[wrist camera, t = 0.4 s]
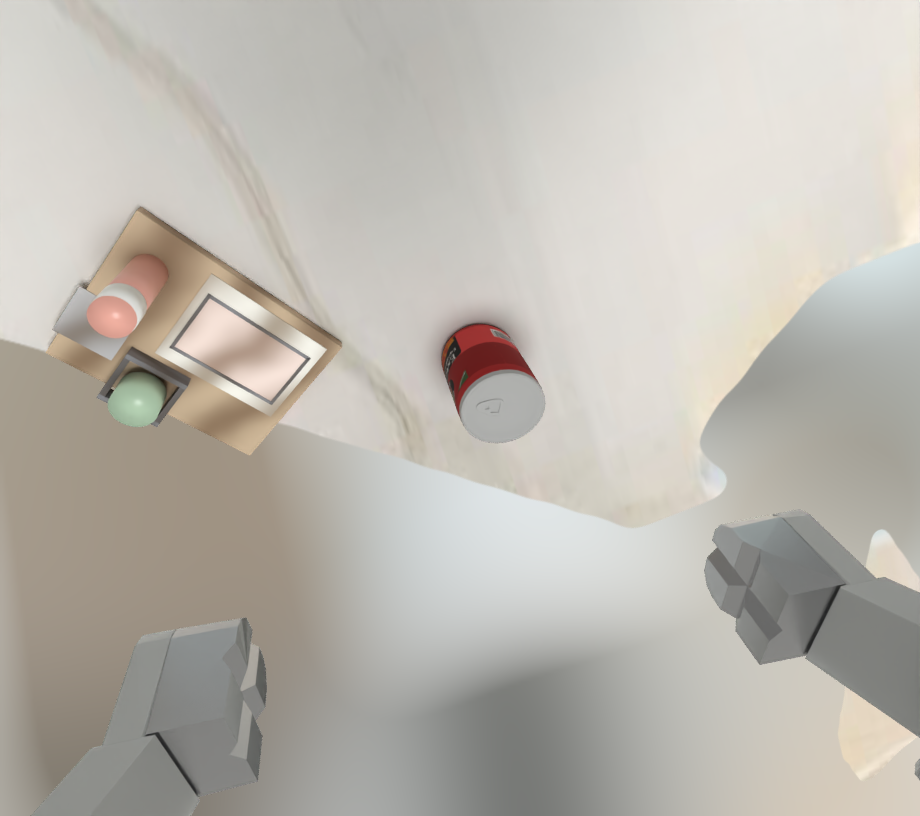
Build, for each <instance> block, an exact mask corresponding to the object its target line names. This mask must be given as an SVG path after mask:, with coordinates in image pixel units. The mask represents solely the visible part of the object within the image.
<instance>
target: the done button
mask: <svg viewBox="0 0 920 816" xmlns="http://www.w3.org/2000/svg"><path fill="white" fill-rule="evenodd" d="M166 396H167V390H166V387H165V385H164V384H163V382H162V381H161V380H160V379H158V378H157V377H156V376H154V375H152V374H149V373H146V372H132V373H129V374H127V375H125V376H124V377H123V378H122V379H121V380H120V382H119V383H118V385H117V387H116V388H115V390H114V391H113V393H112V395H111V396H110V398H109V400H108V409H109V412H110V414H111V415H112V416H113V417H114V418H115V419H116V420H118V421H119V422H120V423H122V424H125V425H128V426H132V427H142V426H146V425H149V424H151V423H152V422H154V421H155V420H156V418H157V416H158V414H159V412H160V410H161V408H162V406H163V404H164V401H165V399H166Z"/></svg>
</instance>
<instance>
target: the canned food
mask: <svg viewBox="0 0 920 816" xmlns="http://www.w3.org/2000/svg"><path fill="white" fill-rule="evenodd" d="M442 367H443V371H444V374H445V377H446V380H447V383H448V385H449V388H450V391H451V394H452V397H453V400H454V403H455V406H456V409H457V412H458V414H459V416H460V419H461V421H462V423H463V425H464V427H465V429H466V430H467V431H468V432H469V434H471V435H472V436H473V437H475V438H477V439H479V440H481V441H484V442H488V443H505V442H509V441H513V440H516V439H518V438H520V437H522V436H524V435H525V434H527V433H528V432H530V431H531V430H532V429H533V428H534V427H535V426H536V425H537V424H538V422H539V421H540V419H541V417H542V415H543V412H544V409H545V396H544V393H543V391H542V388H541V386H540V384H539V383H538V381H537V379H536V378H535V376H534V374H533V373H532V371H531V370H530V368H529V367H528V365H527V363H526V362H525V360H524V359H523V357H522V356H521V354H520V352H519V351H518V349H517V348H516V346H515V345H514V343H513V342H512V340H511V339H510V337H509V336H508V335H507V334H506V333H505V332H504V331H502V330H500V329H498V328H496V327H493V326H490V325H485V324H475V325H471V326H467V327H465V328H462V329H461V330H459V331H458V332H456V333H455V334H454V335H453V336H452V337H451V338H450V339H449V340H448V342H447V344H446V346H445V348H444V351H443V355H442Z"/></svg>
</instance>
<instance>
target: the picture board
mask: <svg viewBox="0 0 920 816" xmlns="http://www.w3.org/2000/svg"><path fill="white" fill-rule="evenodd" d="M140 254H150V255H153V256H155V257H157V258H159V259H160V260H161V261H163V263H164V264H165V265H166V267H167V269H168V273H169V276H168V280H167V282H166V283H165V285H164V286H163V288H162V289H161V291H160V292H159V294H158V295H157V296H156V298H155V299H154V301H153V302H152V304H151V305H150V307H149V308H148V309H147V311H146V313H145V315H144V317H143V318H142V319H141V321H140V322H139V324H138V325H137V327H136V328H135V329H134V331H132V332H131V333H130V334H129V335H128V336H126V337H123V338H109V337H106V336H103V335H101V334H99V333H98V332H97V331H95V330H94V329H93V328H92V327H91V325H90V324H89V322H88V319H87V309H88V307H89V305H90V303H91V302H92V301H93V300H94V299H95V298H96V296H97V295H98V294H99V293H100V292H101V291H102V290H103V289H104V288H105V287H106V286H108V285H109V284H110V283H111V282H112V280H113V279H114V278H115V277H116V276H117V275H118V274H119V273H120V272H121V271H122V270H123V269H124V268H125V266H126V265H127V264H128V263H129V262H130V261H131V260H132V259H133V258H134V257H135V256H137V255H140ZM52 330H54V331H56V332H57V333H58V334H57V336H56V337H55V339H54V340H53V342H52V344H51V345H50V347H49V348H48V350H47V351H46V353H47V354H49V355H51V356H53V357H55V358H57V359H59V360H61V361H63V362H65V363H67V364H69V365H71V366H73V367H75V368H77V369H79V370H81V371H83V372H85V373H87V374H89V375H91V376H93V377H95V378H96V379H99V380H101V381H102V382H105V383H106V384H105V386H104V387H103V389H102V390H101V392H100V393H99V395H98V396H97V398H98V399H100V400H102V401H104V402H106V403H108V400H109V398H110V396H111V395H112V393H113V391H114V390H112V389H111V387H114V388H116V387H117V385H118V383H119V382H120V380H121V379H122V378H123V377H124V376H125V375H127V374H129V373H132V372H146V373H149V374H152V375H154V376H156V377H157V378H158V379H160V380H161V381H162V382H163V384H164V385H165V387H166V390H167V396H166V399H165V401H164V404H163V406H162V408H161V410H160V412H159V414H158V416H157V418H156V420H155V421H154V422H152V423H151V424H152V425H154V426H156V427H157V426H158V425H159V424H160V422H161V421H162V420H163V418H164V417H165V416H166V415H167V414H168V415H170V416H172V417H174V418H176V419H178V420H180V421H182V422H184V423H186V424H188V425H190V426H192V427H194V428H196V429H198V430H200V431H202V432H204V433H206V434H208V435H210V436H212V437H214V438H216V439H218V440H220V441H222V442H224V443H226V444H228V445H230V446H232V447H234V448H236V449H238V450H240V451H242V452H244V453H246V454H248V455H251V454H252V452H253V451H254V450H255V449H256V448H257V447H258V445H259V444H260V443H261V442H262V441H263V440H264V438H265V437H266V436H267V435H268V434H269V432H270V431H271V430H272V429H273V428H274V427H275V425H276V424H277V423H278V422H279V421H280V420H281V418H282V417H283V416H284V415H285V414H286V412H287V411H288V410H289V409H290V408H291V407H292V405H293V404H294V403H295V402H296V401H297V400H298V398H299V397H300V396H301V395H302V394H303V392H304V391H305V390H306V389H307V388H308V387H309V385H310V384H311V383H312V382H313V381H314V380H315V378H316V377H317V376H318V375H319V374H320V372H321V371H322V370H323V369H324V368H325V367H326V365H327V364H328V363H329V362H330V361H331V360H332V358H333V357H334V356H335V355H336V354H337V352H338V351H339V350H340V349H341V348H342V342H341V341H339V340H338V339H336V338H335V337H333V336H332V335H330V334H329V333H327V332H326V331H324V330H323V329H321V328H320V327H318V326H317V325H315V324H314V323H312V322H311V321H309V320H308V319H307V318H305V317H304V316H302V315H301V314H299V313H298V312H296V311H295V310H293V309H292V308H290V307H289V306H287V305H286V304H284V303H283V302H281V301H280V300H278V299H277V298H275V297H274V296H272V295H271V294H269V293H268V292H266V291H265V290H264V289H262V288H261V287H259V286H258V285H256V284H255V283H253V282H252V281H250V280H249V279H247V278H246V277H244V276H243V275H241V274H240V273H238V272H237V271H235V270H234V269H232V268H231V267H229V266H228V265H226V264H225V263H224V262H222V261H221V260H219V259H218V258H216V257H215V256H213V255H212V254H210V253H209V252H207V251H206V250H204V249H203V248H201V247H200V246H198V245H197V244H195V243H194V242H192V241H191V240H189V239H188V238H186V237H185V236H183V235H182V234H181V233H179V232H178V231H176V230H175V229H173V228H172V227H170V226H169V225H167V224H166V223H164V222H163V221H161V220H160V219H158V218H157V217H155V216H154V215H152V214H151V213H149V212H148V211H146V210H145V209H143V208H142V207H140V208H139V209H138V210H137V211H136V212H135V214H134V216H133V217H132V219H131V220H130V222H129V223H128V225H127V226H126V228H125V230H124V231H123V233H122V234H121V236H120V237H119V239H118V241H117V242H116V244H115V245H114V247H113V248H112V250H111V251H110V253H109V255H108V256H107V258H106V259H105V261H104V262H103V264H102V266H101V267H100V269H99V270H98V272H97V273H96V275H95V276H94V278H93V280H92V281H91V283H90V284H89V286H88V287H87V289H84V288H83V287H81V286H79V288H78V289H77V291H76V293H75V294H74V296H73V297H72V299H71V301H70V302H69V304H68V305H67V307H66V308H65V310H64V312H63V313H62V315H61V316H60V318H59V319H58V321H57V323H56V324H55V326H54V327H53V329H52Z"/></svg>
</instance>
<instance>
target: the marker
mask: <svg viewBox="0 0 920 816" xmlns="http://www.w3.org/2000/svg"><path fill="white" fill-rule="evenodd" d="M168 276H169V273H168V269H167V267H166V265H165V264H164V263H163V261H161V260H160V259H159V258H157V257H155V256H153V255H150V254H140V255H137V256H135V257H134V258H133V259H132V260H131V261H130V262H129V263H128V264H127V265H126V266H125V268H124V269H123V270H122V271H121V272H120V273H119V274H118V275H117V276H116V277H115V278H114V279H113V280H112V282H111V283H110V284H109V285H108V286H106V287H105V288H104V289H103V290H102V291H101V292H100V293H99V294H98V295H97V296H96V298H95V299H94V300H93V301H92V302H91V303H90V305H89V307H88V309H87V319H88V322H89V324H90V325H91V327H92V328H93V329H94V330H95V331H97V332H98V333H99V334H101V335H103V336H106V337H109V338H123V337H126V336H128V335H129V334H130V333H131V332H132V331H134V329H135V328H136V327H137V325H138V324H139V322H140V321H141V319H142V318H143V317H144V315H145V313H146V311H147V309H148V308H149V307H150V305H151V304H152V302H153V301H154V299H155V298H156V296H157V295H158V294H159V292H160V291H161V289H162V288H163V286H164V285H165V283H166V282H167V280H168Z"/></svg>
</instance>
